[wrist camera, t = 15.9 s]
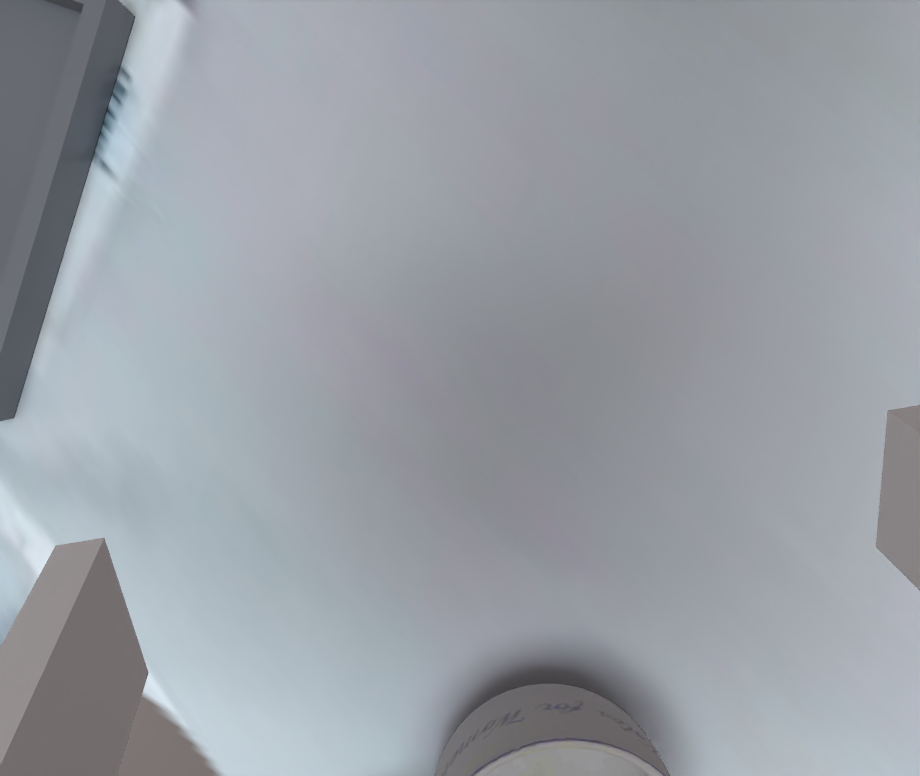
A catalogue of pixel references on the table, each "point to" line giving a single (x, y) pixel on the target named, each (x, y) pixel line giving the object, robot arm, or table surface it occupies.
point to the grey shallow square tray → (46, 152)
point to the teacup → (549, 737)
